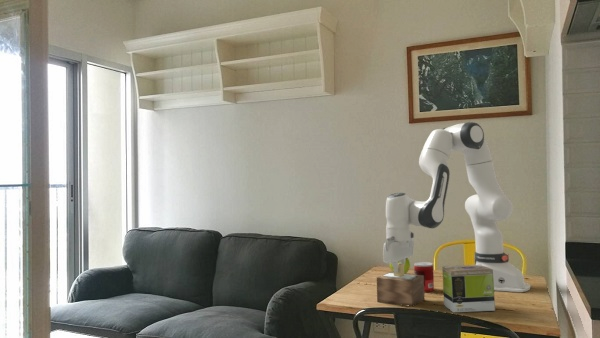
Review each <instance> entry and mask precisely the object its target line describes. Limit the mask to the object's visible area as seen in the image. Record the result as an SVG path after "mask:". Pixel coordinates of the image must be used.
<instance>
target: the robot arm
mask: <svg viewBox="0 0 600 338" xmlns="http://www.w3.org/2000/svg"><path fill="white" fill-rule="evenodd" d="M452 152H462V153H463V157H464V165H465V169H466V173H467V174H466V175H467V178H468V182H469V184H470V186H472V188H473V189H474V191H475V193H476V194H473V195H470V196H469V197H468V198H467V199H466V200H465V202H464V210H465V211H466V213H467V214H468V216H469V218H470V221H471V224H472V227H473V231H474V242H475V252H474V265H483V266H485V267H488V268H490V269H493V281H494V291H498V292H511V293H525V292H528V291H530V289H531V284H529V283H526V282H525V277H524V274H523V272H522V270H520V269H518V268H517V267H516V266H515V265H513V264H512V263H510V261H509V260H510V259H509V257H510V254H507V253H505V252H504V235H503V233H502V231H501V230H500V228H499V226H498V224H497V222H498V221H504V220H507V219H509V218H510V217H511V216H512V214H513V211H514V205H513V203H512V201H511V199H510V198H508V197H507V195H506V194H505V193H504V191H503V189H502V187H501V185H500V183H499V181H498V178H497V175H496V170H495V165H494V159H493V155H492V153H491V149H490V147H489V144H488V142H487V140H486V139H485V132H484V129H483V128H482V126H481V125H480V124H479V123H477V122H473V121H472V122H470V121H468V122H465V123H464V122H461V123H457V124H454V125H451V126H447V127H443V128H438V129H434V130H432V131H431V132H430V134H429V135H428V137H427V139H426V140H425V142H424V145H423V147H422V150H421V152H420V155H419V159H418V165H419V167H420V169H421V170H422V171H421V172H423V173H424V174H426V175H427V176H429V177H431V178H432V183H431V184H432V185H431V189H430V194H429V198H428V199H427V200H425V201H423V200H422V201H421V200H420V201H419V200H416V199H413V198H410V197H409V196H408V195H407V194H406V193H405V192H397V193H396V192H395V193H391V194H389V195H388V196H387V197H386V199H385V220H386V226H385V233H386V234H385V238H386V241H384V243H383V246H382V247H383V249H382V260H383V263H384V264H389V263H392V266H393V271H394V272H393V271H392V272H393V273H398V272H399V268H398V261H400V263H402V264H404V265H405V261H406V260H405V258H408V259H409V258H411V257H412V256H413V255H414V245H415V244H414V243H415V242H414V238H415V233H414V232H413V231H411V230H410V226H416V227H424V228H426V229H427V228H428V229H436V228H438V227H439V226H440V225H442V223H443V221H444V217H445V204H446V203H445V202H446V198H447V192H448V188H449V182H450V169H449V167H448V163H449V159H450V156H451V154H452Z"/></svg>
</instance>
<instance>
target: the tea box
mask: <svg viewBox="0 0 600 338" xmlns="http://www.w3.org/2000/svg"><path fill="white" fill-rule="evenodd" d="M442 288H443V290H442V291H443V303H444V304H443V305H444V307H446V308H447V309H448V310H449V309H450V312H452V313H466V312H467V313H472V312H491V311H492V312H496V300H495V290H494V281H493V269H490V268H488V267H485V266H483V265H475V264H465V265H464V264H463V265H447V266H444V265H443V266H442Z"/></svg>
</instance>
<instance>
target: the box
mask: <svg viewBox="0 0 600 338" xmlns="http://www.w3.org/2000/svg"><path fill="white" fill-rule="evenodd" d="M388 273H394V272H393V271H391V272H388ZM388 273H386V274H388ZM404 275H413V276H416V278H414V279H412V280H408V279H399V278H390V277H383V276H377V277H376V297H377V298H376V299H377V300H376V302H377V303H383V304H391V305H396V304H402V305H401V306H403V305H409V306H408V307H410V306H412V307H414V306H416V305H418V304H420V303H421V302H423V301H425V292H424V276H422V275H415V274H411V273H406V274H404ZM419 302H420V303H419ZM417 303H418V304H417ZM415 304H416V305H415ZM413 305H414V306H413Z"/></svg>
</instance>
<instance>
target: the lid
mask: <svg viewBox="0 0 600 338" xmlns="http://www.w3.org/2000/svg"><path fill="white" fill-rule="evenodd" d="M398 268H399V272H398V273H394V272H393V273H390V272H388V274H387V273H386V274H384V275H382V277H390V278H399V279H408V280H412V279H414V278H416V276H413V275H414V274H413V275H404V264H402V263H398Z"/></svg>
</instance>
